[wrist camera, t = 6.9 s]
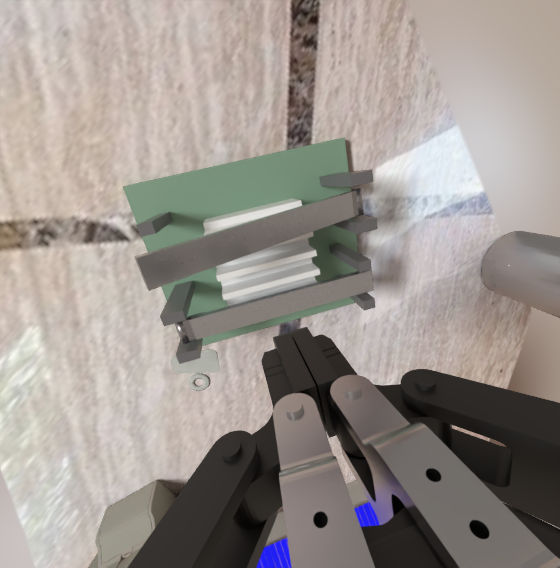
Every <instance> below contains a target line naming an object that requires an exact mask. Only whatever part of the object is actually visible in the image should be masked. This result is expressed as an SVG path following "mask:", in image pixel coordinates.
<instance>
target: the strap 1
mask: <svg viewBox="0 0 560 568" xmlns="http://www.w3.org/2000/svg"><path fill="white" fill-rule="evenodd" d="M363 214H364V209H363V200H362V190H361V188H355V189H351V191H349V192H345V193H342V194H339V195H335V196H332V197H329V198H326V199H322V200H319V201H316V202H312V203H309V204H306V205H303V206H299V207H296V208H293V209H289V210H286V211H283V212H280V213H276V214H273V215H270V216H266V217H263V218H260V219H257V220H253V221H250V222H247V223H243V224H240V225H237V226H233V227H230V228H227V229H224V230H220V231H217V232H214V233H210V234H207V235H204V236H201V237H197V238H194V239H191V240H187V241H184V242H181V243H178V244H174V245H171V246H168V247H164V248H161V249H158V250H155V251H151V252H148V253H145V254H141V255H138V256H135V257H134V258H135V260H136V262H137V265H138V267H139V270H140V272H141V275H142V277H143V280H144V282H145V284H146V287H147V289H148V290H149V291H150V290H152V289H155V288H158V287H161V286H163V285H166V284H169V283H172V282H174V281H177V280H180V279H183V278H186V277H188V276H191V275H194V274H197V273H199V272H202V271H205V270H208V269H210V268H213V267H216V266H219V265H222V264H224V263H227V262H230V261H233V260H235V259H238V258H241V257H244V256H246V255H249V254H252V253H255V252H258V251H260V250H263V249H266V248H269V247H271V246H274V245H277V244H280V243H282V242H285V241H288V240H291V239H294V238H296V237H299V236H302V235H305V234H307V233H310V232H313V231H316V230H319V229H321V228H324V227H327V226H330V225H332V224H335V223H338V222H341V221H343V220H346V219H349V218H352V217H355V216H360V215H363Z"/></svg>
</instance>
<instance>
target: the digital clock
mask: <svg viewBox="0 0 560 568" xmlns="http://www.w3.org/2000/svg"><path fill="white" fill-rule="evenodd" d="M176 498H177V497H176V496H175V495H174V494H173V493H172V492H171V491H170V490H169V489H168V488H167V487H166V486H164V485H163V484H162V483H161V482H160V481H159V480H156V481H154V482H152V483H151V484H149V485H147V486H145V487H144V488H142V489H140V490H138V491H136V492H135V493H133V494H131V495H129V496H128V497H126V498H124V499H122V500H120V501H119V502H117V503H115V504H113V505H111V506H110V507H108V508H107V509H106V511H105V514H104V516H103V519H102V522H101V525H100V528H99V530H98V533H97V537H96V545H97V548H98V553H97V555H96V557H95V558H94V560H93V561H92V563H91V564H90V566H89V567H88V568H127V567H128V566H129V565H130V563H131V562H132V560H133V559H134V557H135V556H136V555H137V553H138V552H139V550H140V549H141V547H142V546H143V545H144V543H145V542H146V540H147V539H148V538H149V536H150V535H151V533H152V532H153V530H154V529H155V528H156V526H157V525H158V523H159V522H160V520H161V519H162V518H163V516H164V515H165V513H166V512H167V510H168V509H169V508H170V506H171V505H172V503H173V502H174V500H175V499H176Z"/></svg>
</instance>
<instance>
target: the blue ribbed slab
mask: <svg viewBox="0 0 560 568" xmlns="http://www.w3.org/2000/svg"><path fill="white" fill-rule="evenodd" d="M346 486H347V489H348V492H349V495H350V498H351V501H352V503H353V506H354V509H355V512H356V515H357V518H358V521H359V523H360V526H361V527H363V526H376V525H380V524H379V521H378V518H377V516H376V514H375V512H374V510H373V508H372V506H371V504H370V502H369V501H368V499H367V497H366V495H365V494H364V492H363V490H362V488H361V487H360V485H359V483H358V481H357V480H355V481H353V482H351V483H348V484H346ZM256 568H291V561H290V554H289V547H288V539H287V532H286V525H285V518H284V511H283V512H281V513H278V514H277V517H276V520H275V523H274V525H273V528H272V530H271V532H270V535H269V537H268V540H267V542H266V545H265V547H264V550H263V552H262V555H261V557H260V559H259V562H258V564H257V567H256Z"/></svg>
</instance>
